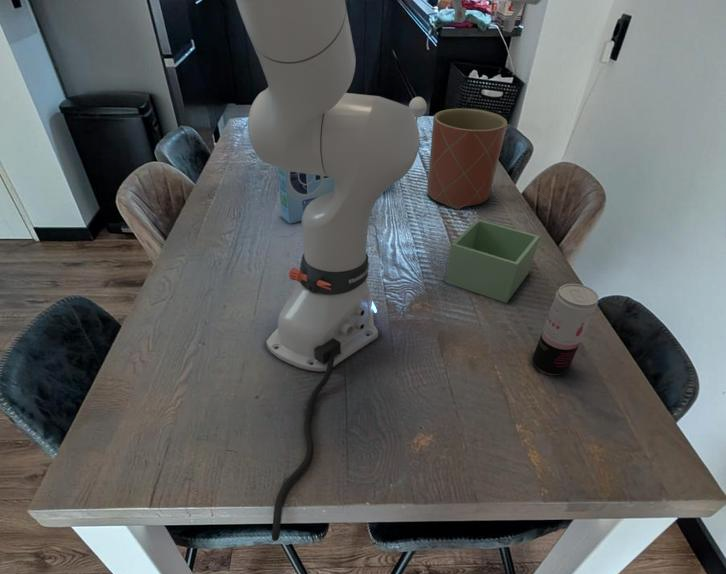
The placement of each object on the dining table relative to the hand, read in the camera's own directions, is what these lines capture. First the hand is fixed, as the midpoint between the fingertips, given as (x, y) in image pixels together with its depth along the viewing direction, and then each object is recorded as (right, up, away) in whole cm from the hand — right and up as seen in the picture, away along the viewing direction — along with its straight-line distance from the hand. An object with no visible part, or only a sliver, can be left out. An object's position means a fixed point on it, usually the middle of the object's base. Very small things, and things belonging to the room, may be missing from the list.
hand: (483, 25), depth 85 cm
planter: (+6, -7, +52) cm, 53 cm away
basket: (+7, -39, +22) cm, 45 cm away
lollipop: (-4, +23, +81) cm, 84 cm away
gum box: (-34, -16, +43) cm, 57 cm away
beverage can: (+13, -61, +2) cm, 62 cm away
